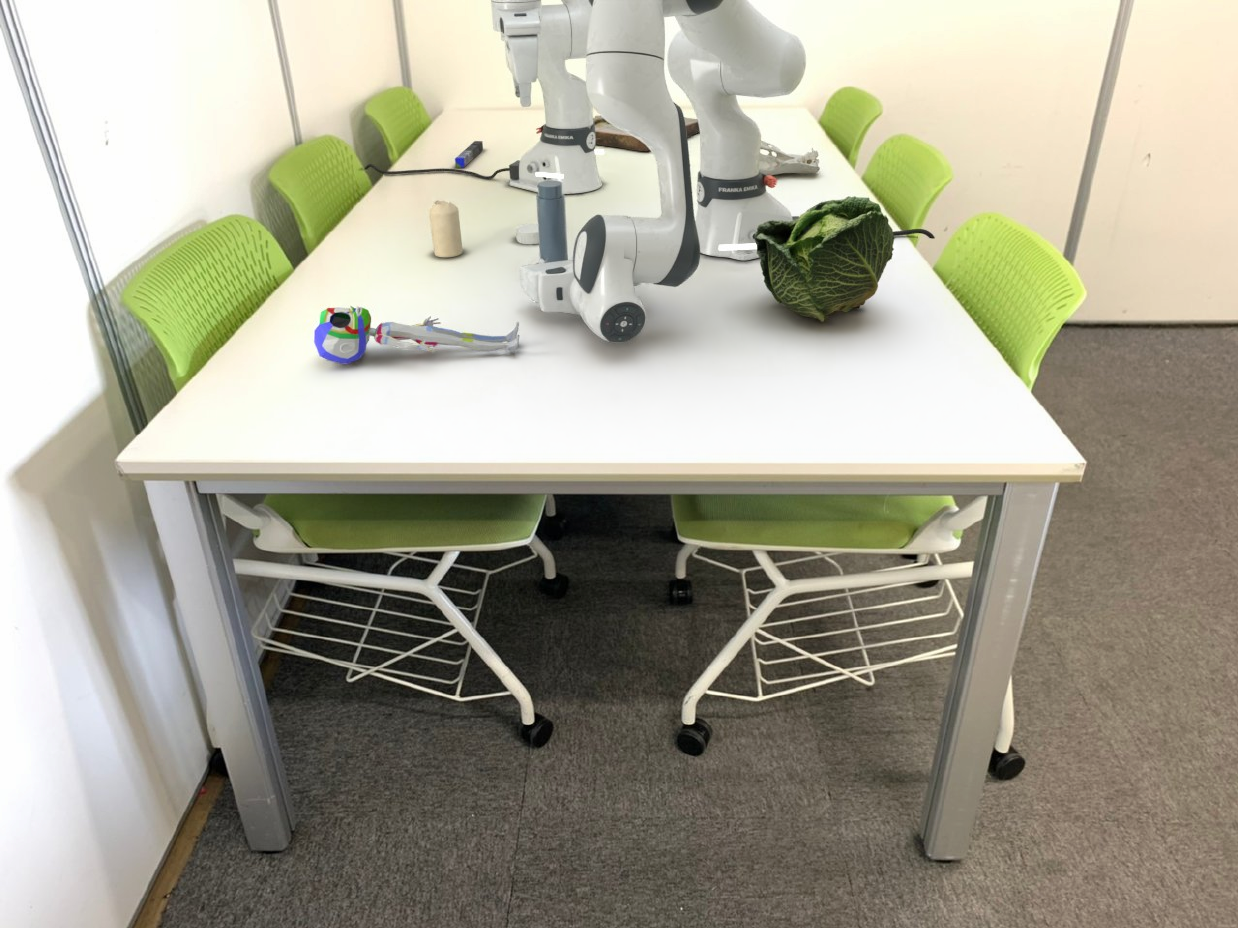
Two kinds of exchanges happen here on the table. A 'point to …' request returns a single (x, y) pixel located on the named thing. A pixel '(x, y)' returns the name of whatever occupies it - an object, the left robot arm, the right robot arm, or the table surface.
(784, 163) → the anatomical model
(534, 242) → the lid
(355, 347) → the toy
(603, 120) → the plaque
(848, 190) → the table surface
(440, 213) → the candle
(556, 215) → the jar
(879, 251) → the vegetable
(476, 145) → the pillar
